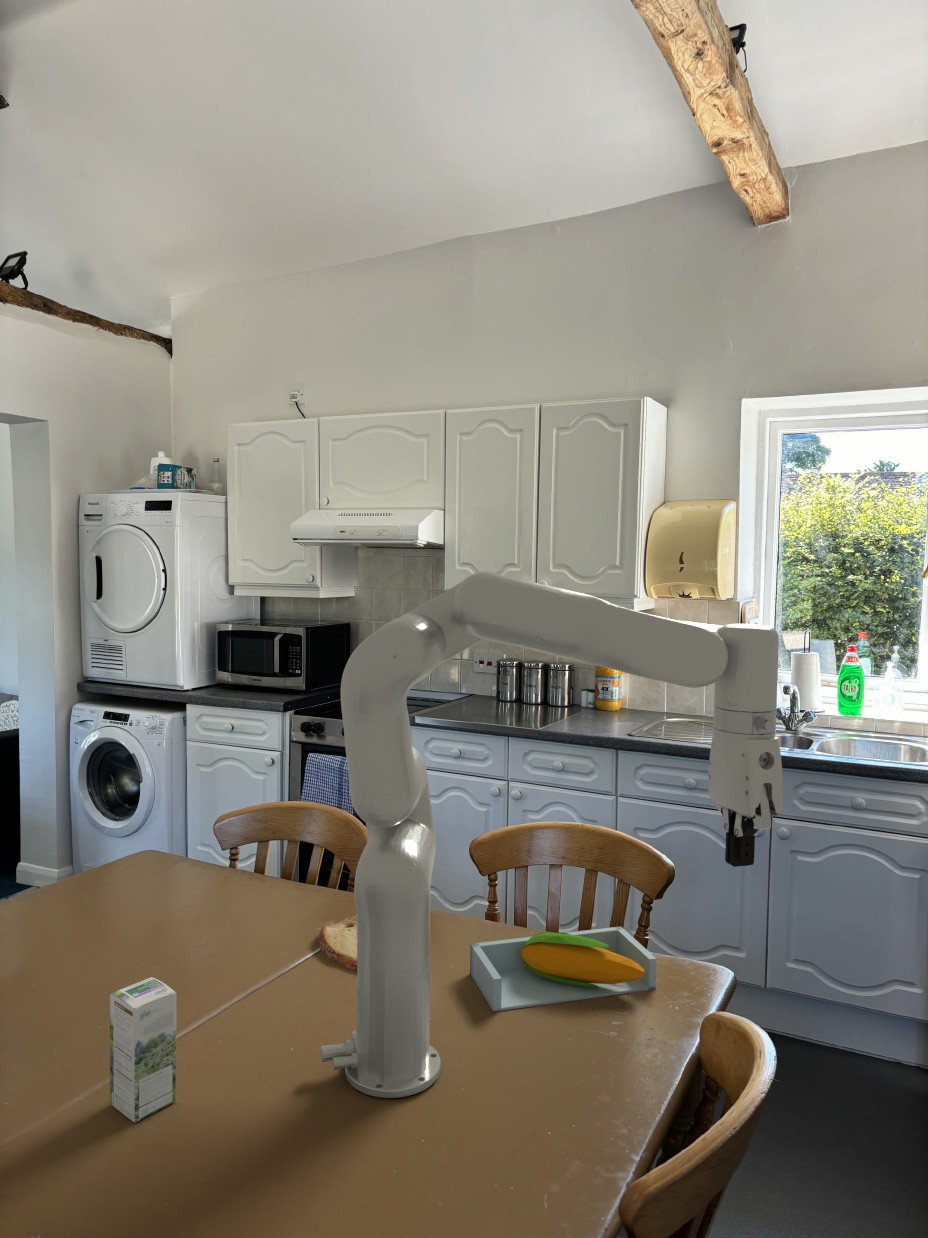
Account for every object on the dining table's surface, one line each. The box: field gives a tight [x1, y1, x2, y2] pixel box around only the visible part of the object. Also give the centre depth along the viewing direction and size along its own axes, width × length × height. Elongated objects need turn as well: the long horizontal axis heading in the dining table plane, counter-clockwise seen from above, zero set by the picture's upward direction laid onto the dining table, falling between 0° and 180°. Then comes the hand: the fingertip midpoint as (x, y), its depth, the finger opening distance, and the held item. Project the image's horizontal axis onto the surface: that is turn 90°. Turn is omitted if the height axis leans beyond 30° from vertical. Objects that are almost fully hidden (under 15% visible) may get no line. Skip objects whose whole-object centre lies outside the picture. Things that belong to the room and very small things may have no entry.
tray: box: [469, 926, 657, 1013], centre depth 139 cm, size 27×12×5 cm, turn 106°
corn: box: [521, 931, 645, 988], centre depth 138 cm, size 7×8×20 cm
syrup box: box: [109, 977, 177, 1124], centre depth 106 cm, size 6×6×14 cm
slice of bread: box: [317, 915, 357, 972], centre depth 150 cm, size 18×18×4 cm
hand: (739, 863), depth 110 cm, fingers closed
